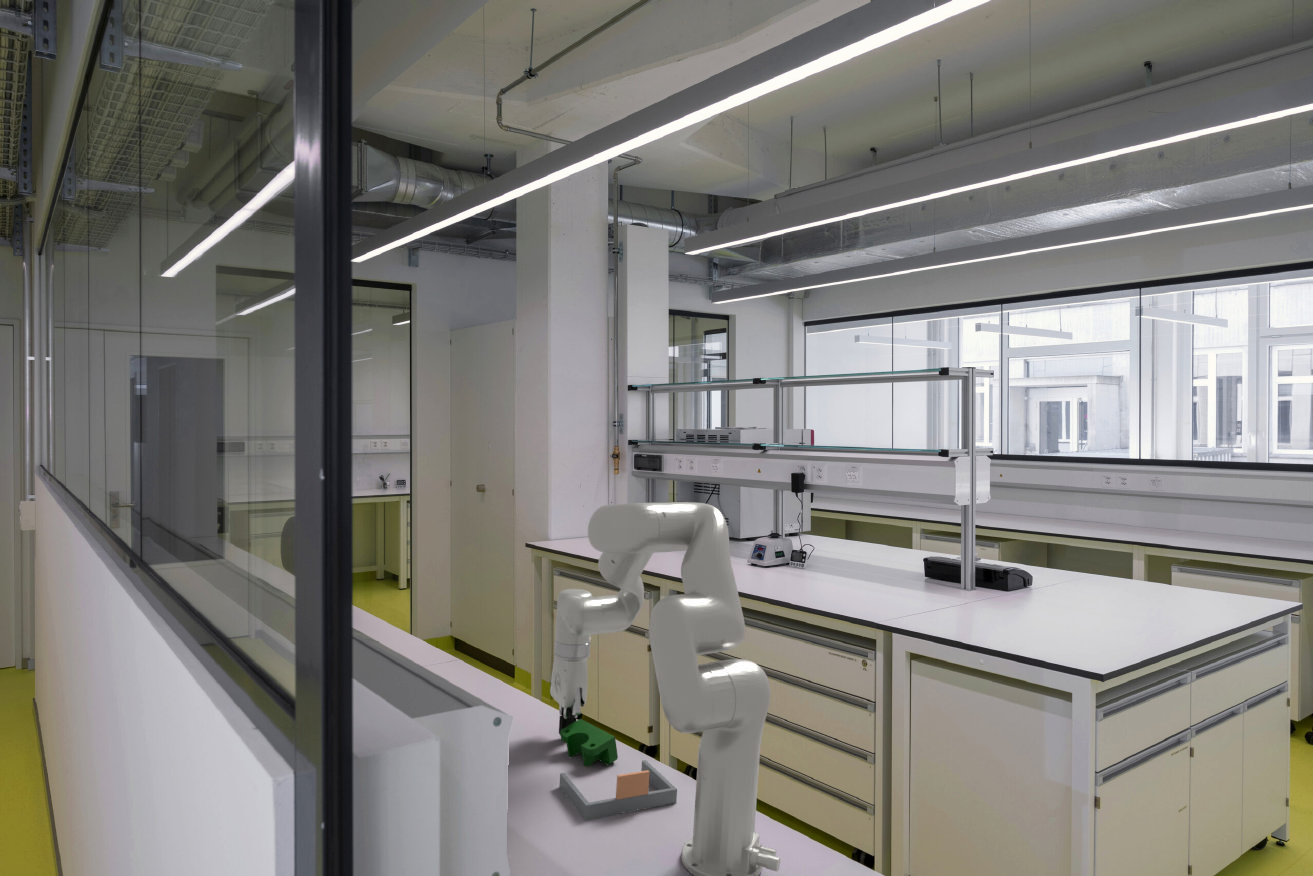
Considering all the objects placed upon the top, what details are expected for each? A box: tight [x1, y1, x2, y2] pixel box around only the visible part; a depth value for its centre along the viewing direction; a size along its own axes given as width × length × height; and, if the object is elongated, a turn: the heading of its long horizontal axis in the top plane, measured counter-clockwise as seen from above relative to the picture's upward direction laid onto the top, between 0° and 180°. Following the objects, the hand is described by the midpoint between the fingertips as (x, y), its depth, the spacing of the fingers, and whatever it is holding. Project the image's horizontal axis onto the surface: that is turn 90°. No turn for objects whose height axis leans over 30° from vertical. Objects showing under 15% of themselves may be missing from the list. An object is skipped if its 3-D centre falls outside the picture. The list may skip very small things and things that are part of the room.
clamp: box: [559, 718, 619, 767], centre depth 156 cm, size 12×6×9 cm, turn 38°
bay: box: [558, 759, 678, 821], centre depth 142 cm, size 13×18×6 cm
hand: (567, 734), depth 165 cm, fingers closed
